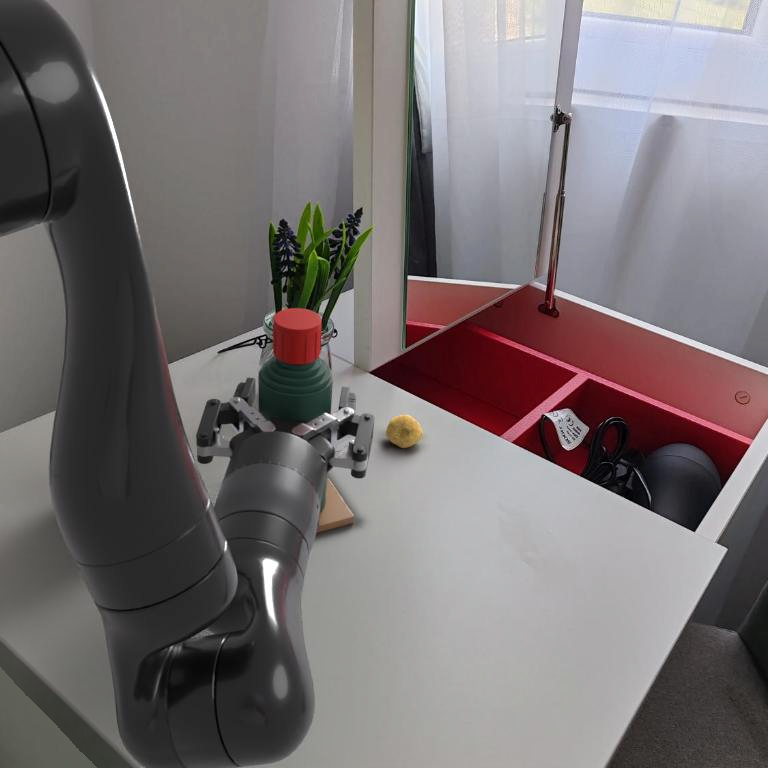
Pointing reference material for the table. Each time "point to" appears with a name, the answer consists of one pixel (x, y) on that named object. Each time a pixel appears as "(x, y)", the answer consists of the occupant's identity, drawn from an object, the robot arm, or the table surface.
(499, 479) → the table surface
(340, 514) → the plate
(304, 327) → the cap
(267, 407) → the bottle
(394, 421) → the rock
